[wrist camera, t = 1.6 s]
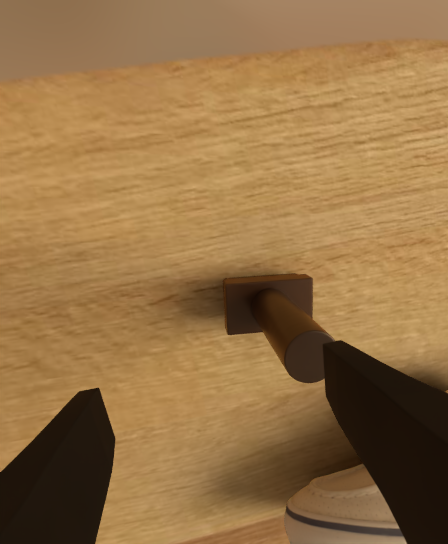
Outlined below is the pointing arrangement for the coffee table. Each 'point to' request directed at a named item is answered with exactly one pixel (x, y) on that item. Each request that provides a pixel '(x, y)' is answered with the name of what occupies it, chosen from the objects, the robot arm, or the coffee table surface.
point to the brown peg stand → (279, 319)
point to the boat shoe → (341, 511)
